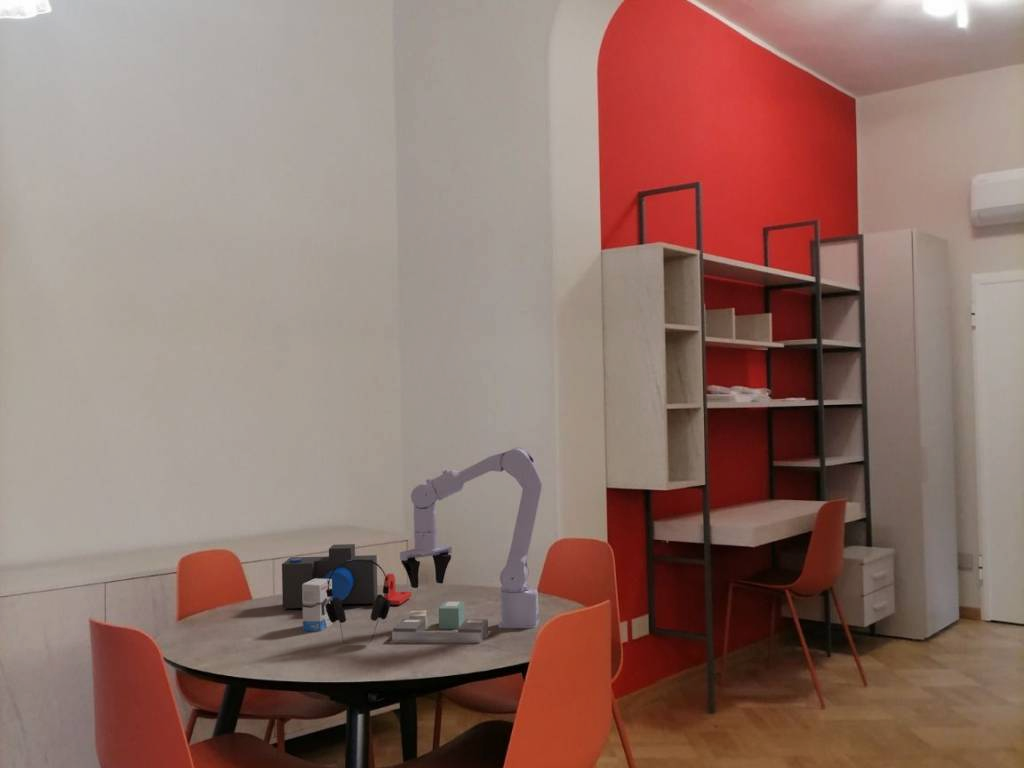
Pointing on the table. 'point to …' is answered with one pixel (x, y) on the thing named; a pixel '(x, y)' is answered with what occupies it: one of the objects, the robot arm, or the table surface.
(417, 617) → the block
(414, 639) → the rail
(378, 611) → the headphones
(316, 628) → the ink box
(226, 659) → the table surface
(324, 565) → the camera
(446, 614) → the teal module
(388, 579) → the bracket
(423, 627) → the mounted modules
